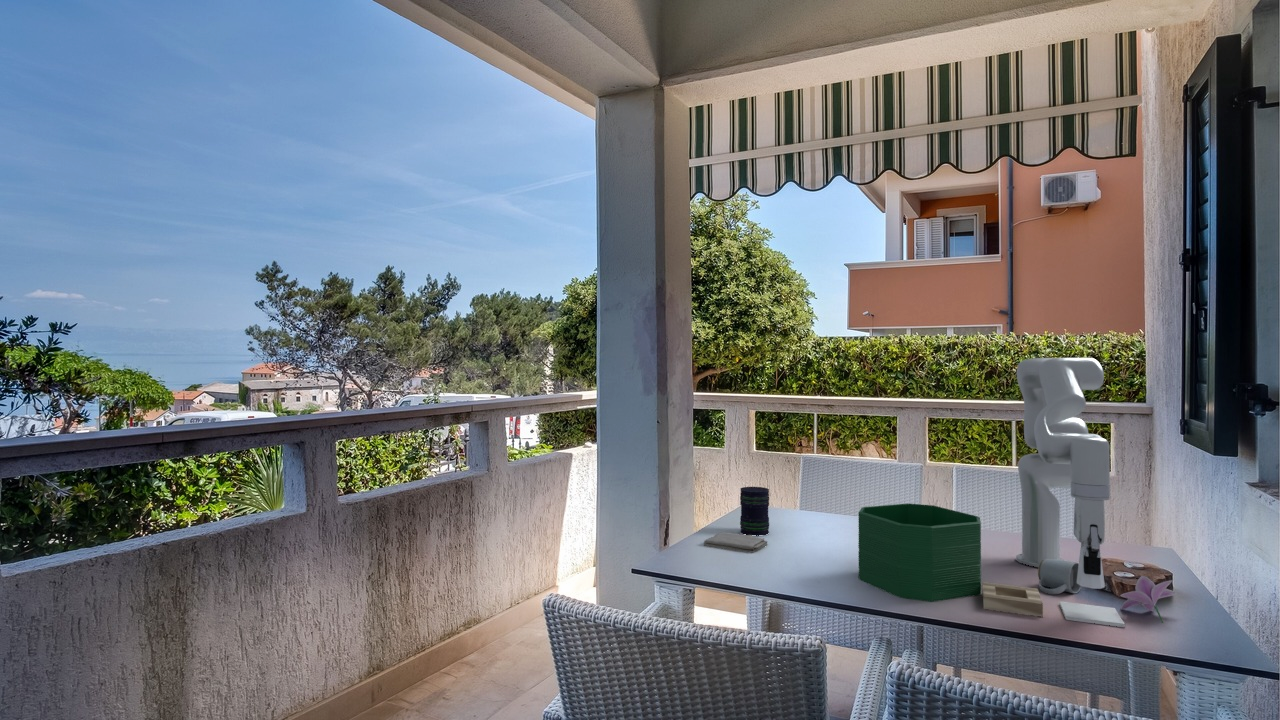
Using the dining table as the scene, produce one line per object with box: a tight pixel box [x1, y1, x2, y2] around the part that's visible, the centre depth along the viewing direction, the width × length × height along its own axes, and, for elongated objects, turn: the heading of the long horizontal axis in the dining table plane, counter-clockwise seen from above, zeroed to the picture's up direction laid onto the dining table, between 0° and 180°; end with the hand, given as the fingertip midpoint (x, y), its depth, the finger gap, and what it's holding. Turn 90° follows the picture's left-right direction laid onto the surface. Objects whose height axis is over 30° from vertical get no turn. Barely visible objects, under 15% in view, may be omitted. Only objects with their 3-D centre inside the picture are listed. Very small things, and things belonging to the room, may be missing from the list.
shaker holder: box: [981, 581, 1044, 618], centre depth 164 cm, size 12×12×3 cm
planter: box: [857, 503, 982, 603], centre depth 181 cm, size 26×26×18 cm
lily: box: [1119, 575, 1178, 624], centre depth 157 cm, size 12×12×10 cm
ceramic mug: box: [1037, 559, 1082, 595], centre depth 175 cm, size 11×8×8 cm
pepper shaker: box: [1077, 540, 1106, 590], centre depth 157 cm, size 5×5×11 cm
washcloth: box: [703, 531, 769, 554], centre depth 219 cm, size 12×18×3 cm, turn 59°
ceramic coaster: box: [1059, 600, 1126, 628], centre depth 157 cm, size 11×11×1 cm
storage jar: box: [739, 486, 770, 537], centre depth 236 cm, size 10×10×15 cm
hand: (1090, 570), depth 157 cm, fingers closed on pepper shaker, 4 cm apart
